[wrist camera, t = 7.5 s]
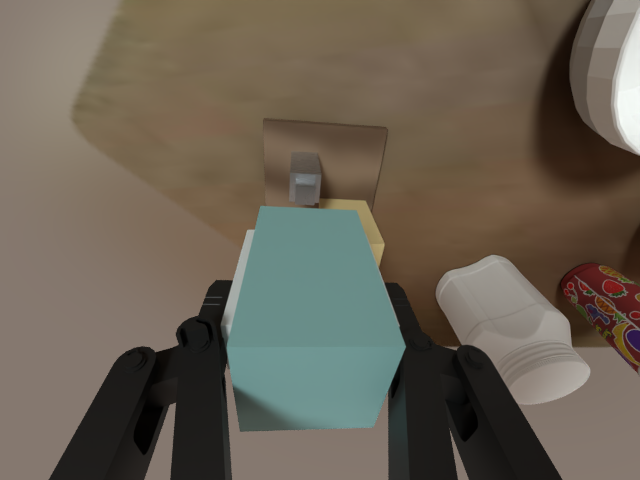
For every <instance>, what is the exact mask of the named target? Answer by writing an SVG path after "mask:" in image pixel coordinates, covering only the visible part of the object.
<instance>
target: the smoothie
mask: <svg viewBox="0 0 640 480" xmlns="http://www.w3.org/2000/svg"><path fill="white" fill-rule="evenodd" d="M561 288H562V289H563V293H564V296H565V297H566V298H567V300H568V301H569V302H570V303H571V304H572V305H573V306H574V307H575V308H576V309H577V310H578V311H579V312H580V313H581V314H582V315H583V316H584V317H585V319H586V320H587V321H588V322H589V323H590V324H591V325H592V326H593V327H594V328H595V329H596V330H597V331H598V332H599V333H600V334H601V335H602V336H603V338H604V339H605V340H606V341H607V342H608V343H609V344H610V345H611V346H612V347H613V348H614V349H615V350H616V351H617V352H618V353H619V354H620V355H621V356H622V358H623V359H624V360H625V361H626V362H627V363H628V364H629V365H630V366H631V367H632V368H633V369H634V370H635V371H636V372H637V373H638V375H639V376H640V285H639V284H637V283H635V282H634V281H632V280H631V279H629V278H627V277H626V276H624V275H622V274H621V273H619V272H618V271H616V270H614V269H613V268H611V267H608V266H601V265H599V264H596V263H588V264H584V265H581V266H579V267H576V268H575V269H573V270H571V271H570V272H569V273H568V274H567V275H566V276H565V277H564V278H563V280H562V282H561Z"/></svg>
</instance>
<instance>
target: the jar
mask: <svg viewBox="0 0 640 480" xmlns="http://www.w3.org/2000/svg"><path fill="white" fill-rule="evenodd" d="M436 300H437V302H438V304H439V306H440V308H441V309H442V311H443V312H444V313H445V315H446V317H447V319H448V321H449V323H450V324H451V326H452V328H453V330H454V332H455V333H456V335H457V337H458V339H459V341H460V343H461V344H462V345H472V346H475V347H477V348H479V349H481V350H482V351H483V352H485V353H486V354H487V355H488V357H489V358H490V359H491V361H492V362H493V364H494V366H495V368H496V369H497V371H498V373H499V374H500V376H501V378H502V379H503V381H504V383H505V384H506V386H507V388H508V389H509V391H510V393H511V394H512V396H513V398H514V399H515V401H516V403H518V404H526V405H530V404H539V403H545V402H549V401H552V400H555V399H558V398H561V397H563V396H565V395H568V394H569V393H571V392H573V391H575V390H576V389H578V388H579V387H580V386H582V385H583V384H584V383H585V382H586V381H587V379H588V378H589V376H590V368H589V366H588V365H587V364H586V363H585V362H584V360H583V359H582V358H580V356H579V355H578V354H577V353H576V352H575V350H574V349H573V348H572V343H571V330H570V323H569V321H568V319H567V318H566V317H565V316H564V315H563V314H562V313H561V312H560V311H559V310H558V309H556V308H555V307H554V306H553V305H552V304H551V303H550V302H549V301H548V300H547V299H546V298H545V297H544V296H543V295H542V294H541V293H540V292H539V291H538V290H537V289H536V288H535V287H534V286H533V285H532V284H531V283H530V282H529V281H528V280H527V279H526V278H525V277H524V276H523V275H522V274H521V273H520V272H519V271H518V269H517V268H516V267H515V266H514V265H513V264H512V263H511V262H510V261H509V260H508V259H506V258H504V257H501V256H498V255H490V256H487V257H485V258H483V259H482V260H480V261H478V262H476V263H474V264H472V265H469V266H466V267H463V268H459V269H453V270H451V271H448V272H446V273H445V274H444V275H443V277H442V278H441V279H440V281H439V283H438V285H437V288H436Z"/></svg>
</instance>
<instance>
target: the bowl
mask: <svg viewBox="0 0 640 480" xmlns="http://www.w3.org/2000/svg"><path fill="white" fill-rule="evenodd" d="M570 84H571V89H572V94H573V98H574V102H575V107H576V110H577V111H578V113H579V115H580V116H581V118H582V120H583V122H584V123H586V124H587V125H588V126H589V127H590V128H591V129H592V130H594V131H595V132H596V133H598V134H599V135H600V136H602V137H603V138H604V139H606V140H607V141H608V142H609V143H610V144H613V145H615V146H617V147H620V148H622V149H625V150H627V151H629V152H632V153H634V154H637V155H639V156H640V0H591V2H590V4H589V6H588V8H587V10H586V12H585V14H584V16H583V18H582V20H581V22H580V25H579V28H578V31H577V34H576V36H575V39H574V42H573V47H572V52H571V58H570Z"/></svg>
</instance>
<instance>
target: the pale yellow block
mask: <svg viewBox="0 0 640 480" xmlns="http://www.w3.org/2000/svg"><path fill="white" fill-rule="evenodd" d="M319 209H339V210H357V213H358V215H359V218H360V221H361V224H362V226H363V229H364V232H365V234H366V235H367V238H368V241H369V243H370V246H371V249H372V251H373V254H374V257H375V260H376V262H377V265H378V268H379V265H380V261H381V257H382V253H383V249H384V245H385V244H384V241H383V239H382V237H381V235H380V232H379V230H378V228H377V226H376V223H375V221H374V219H373V216H372V214H371V212H370V210H369V207H368V205H367V203H366V201H363V200H343V199H322V198H319Z"/></svg>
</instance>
